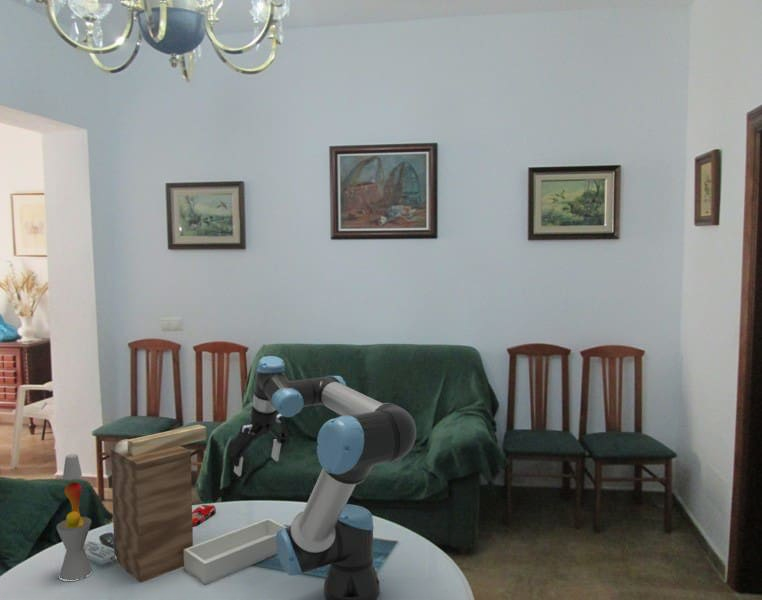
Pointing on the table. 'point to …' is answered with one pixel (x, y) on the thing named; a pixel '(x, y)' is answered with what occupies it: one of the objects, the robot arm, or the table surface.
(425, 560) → the table surface
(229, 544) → the tray
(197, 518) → the race car
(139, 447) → the wooden board
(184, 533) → the wooden block
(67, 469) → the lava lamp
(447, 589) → the table surface
